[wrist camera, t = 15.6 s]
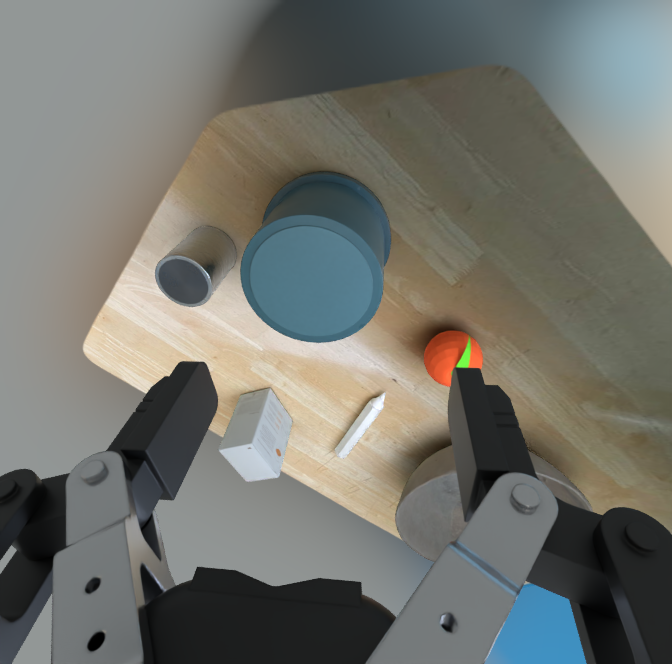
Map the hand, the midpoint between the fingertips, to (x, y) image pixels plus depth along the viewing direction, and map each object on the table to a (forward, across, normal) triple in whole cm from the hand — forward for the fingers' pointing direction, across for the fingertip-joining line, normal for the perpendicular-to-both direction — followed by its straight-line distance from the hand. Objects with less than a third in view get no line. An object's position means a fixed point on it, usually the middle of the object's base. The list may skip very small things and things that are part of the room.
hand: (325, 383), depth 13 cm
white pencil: (+32, +2, +38) cm, 50 cm away
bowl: (+32, -17, +50) cm, 62 cm away
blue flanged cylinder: (+32, +5, +8) cm, 33 cm away
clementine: (+32, -10, +22) cm, 40 cm away
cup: (+32, +19, +9) cm, 38 cm away
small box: (+32, +17, +36) cm, 51 cm away
